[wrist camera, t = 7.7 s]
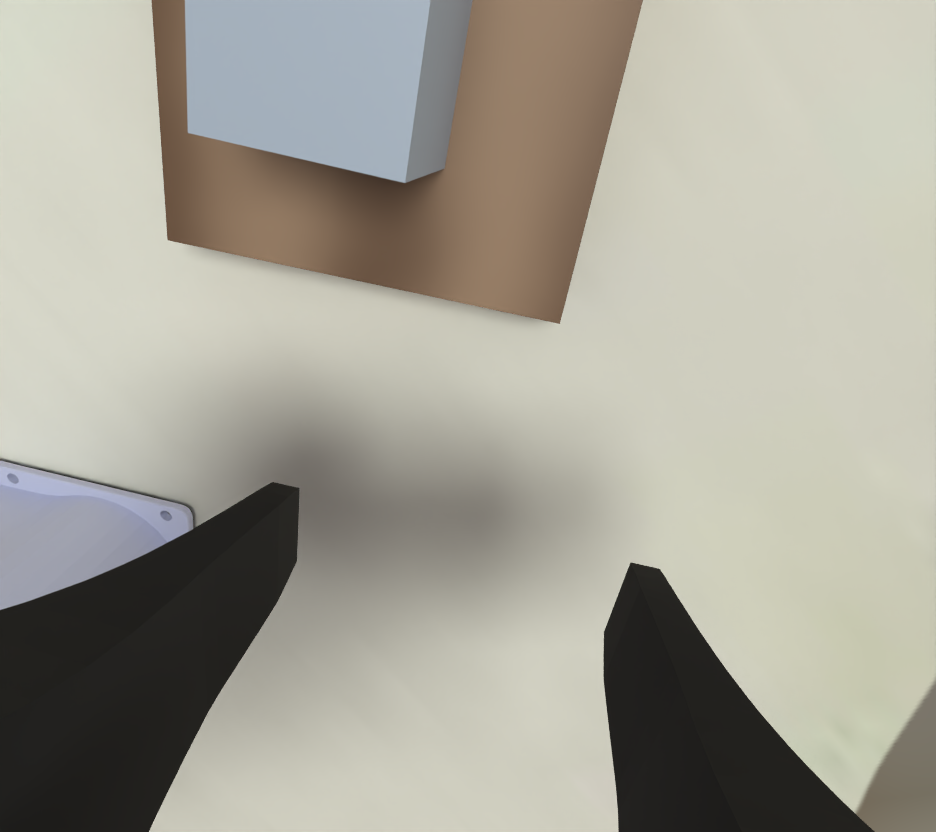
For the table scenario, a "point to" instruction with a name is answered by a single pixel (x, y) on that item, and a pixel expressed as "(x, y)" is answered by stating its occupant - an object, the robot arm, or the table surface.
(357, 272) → the walnut base
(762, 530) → the table surface
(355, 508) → the table surface
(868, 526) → the table surface
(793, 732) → the table surface
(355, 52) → the slate cube
